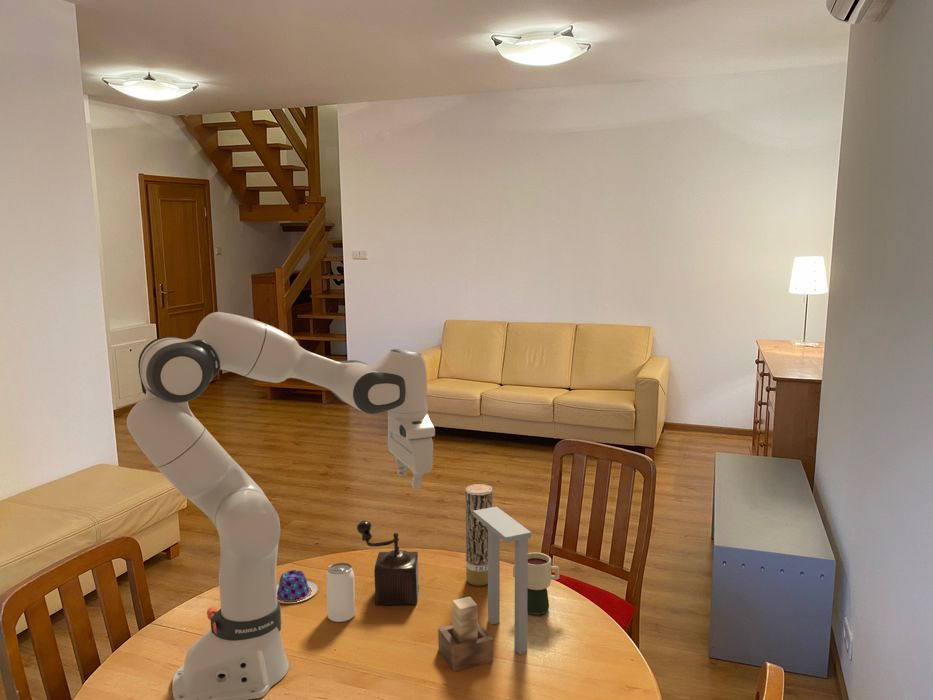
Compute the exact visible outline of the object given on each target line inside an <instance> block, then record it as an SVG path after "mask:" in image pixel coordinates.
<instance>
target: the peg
mask: <svg viewBox="0 0 933 700" xmlns="http://www.w3.org/2000/svg"><path fill="white" fill-rule="evenodd" d="M478 607H479V606H478V603H476V602H475V600H473V598H472V597H471V596H465V597H461V598H458V599H452V625H453V638H454V640H455V641H456V642H457V644H460V643H464V642H468V641H472V640H476V639H478V623H479V622H478V621H479V620H478V618H479V616H478Z"/></svg>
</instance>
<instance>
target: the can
mask: <svg viewBox="0 0 933 700" xmlns="http://www.w3.org/2000/svg"><path fill="white" fill-rule="evenodd" d="M352 568H353V567H352V565H351V564H350V563H348V562H336V563H333V564H331V565H329V566H328V567H327V572H326V575H325V583H326V585H325V586H326V607H327V608H326V613H327V618H328V619H329V621H332V622H334V623H345V622H349V621H350V620H352V619H353V618H354V617H355V615H356V599H355V597H356V593H355V573H354V570H353V569H352Z"/></svg>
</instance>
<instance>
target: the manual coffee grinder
mask: <svg viewBox="0 0 933 700" xmlns="http://www.w3.org/2000/svg"><path fill="white" fill-rule="evenodd" d="M372 528H373V527H372V523H371V521H368V520H362V521H360V522H359V523H358V524H357V525H356V530H357V533H359V534H360V535H361V540H362V541H363V542H364V541H365V544H366V545H367V546H369V547H372V548H373V547H375V548H376V547H383V546H390V545H391V544H393V543H394V545H393V546H394V547H393V550H390V551H379V552H378V554H377V558H376V561H375V564H374V572H373V573H374V576H373V577H374V593H375V594H374V605H375V606H378V607H397V606H398V607H399V606H400V607H402V605H405V606H417V603H418V599H419V593H418V592H419V591H420V586H419V585H420V584H419V554H418V553H419V552H418V551H406V550H402V549H401V550H400V547H399V543H398V542H399V540H400V538H399V533H398V532H394V533H393V535H392V536H393V538H392V539H391V540H387V541H380V542H371V539H372V538H373V534H371V529H372Z"/></svg>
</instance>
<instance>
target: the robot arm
mask: <svg viewBox="0 0 933 700" xmlns="http://www.w3.org/2000/svg"><path fill="white" fill-rule="evenodd" d="M137 367H138V368H137V369H138V374H139V379H140V385H141V391H142V393H143V394H144V396H143V397H142V398H141V399H140V400H139V401H138V402H137V403H136V404H134V406H133V407H132V408H131V409H130V411H129V413H128V414H127V416H126V417H127V418H126V427H127V430H128V432H129V434H130V435H131V437H132V439H133V440H134V442H135V443H136V444H137V446H138V447H139V449H140V450H141V451H142V453H143V454H144V455H145V457H146V459H148V460H149V462H151V464H152V465H153V466H154V467H155V468H156V469H157V470H158V471H159V472H160V473H161V474H162V475H163V476H164V477H165V479H166V480H167V481H168V482H169V483H170V484H171V485H172V486H173V487H174V488H175V490H177V491H178V492H179V493H180V494H181V495H182V496H183V497H184V498H186V499H187V500H189V501H190V502H191V503H193V504H194V505H195V506H196V507H197V508H198V509H199V510H200V511H201V512H203V513H204V515H206V516H207V518H209V519H210V521H211V522H212V523H213V526H215V528H216V530H217V533H218V538H219V547H220V555H219V556H220V559H219V572H218V585H219V586H218V587H219V588H218V589H219V602H220V605H219V606H220V608H219V610H218V609H217V608H216V607H215V606H210V607H209V608H208V609H207V610H206V615H207V616H206V617H207V619H208V620H209V621H210V629H209V630H208V631H206V633H204V634H203V635H202V636H201V637H200V638H199V639H197V640H196V641H195V642H194V643H193V644H191V645H190V647H189V648H188V650H187V652H186V655H185V658H184V662H183V663H184V664H183V665H181V666H180V667H179V668H178V669H177V670H176V672H175V673H174V675H173V677H172V684H171V691H172V697H173V700H253V699H254V700H255V699H260V698H263V697H265V695H266V694H267V693H268V692H269V691H270V689H271V688H272V687H273V686H274V685H276V684H277V683H278V682H280V681H281V680H282V679H283V678H284V677H285V676H286V675H287V673H288V672H289V668H290V662H289V660H288V657H287V654H286V652H285V649H284V648H285V647H284V644H283V640H282V633H281V630H282V610H281V609H282V608H281V603H279V601H278V599H279V598H278V599H277V585H278V583H277V582H278V581H277V579H278V578H277V563H278V552H279V544H280V543H279V541H280V538H281V522H280V517H279V514H278V512H277V510H276V509H275V507H274V506H273V504H272V503H271V502H270V500H269V498H268V497H267V496H266V493H265V492H264V491H263V489H262V487H260V486H259V485H258V484H257V483H256V482H255V480H254V479H252V477H251V476H250V474H249V475H248V473H247V472H246V471H245V469H244V468H243V467H242V466H240V464H238V462H237V461H235V459H234V458H233V457H232V456H231V455H230V454H229V453H228V452H227V451H226V450H225V448H224V447H223V446H222V445H221V444H220V442H218V441H217V440H216V438H215V437H214V436H213V435H212V433H210V432H209V430H208V429H207V428H206V427H205V426H204V425H203V424H202V422H200V420H199V419H198V418H197V417H196V416H195V415H194V413H193V412H192V410H191V408H190V406H189V402H191V401H192V400H195V399H196V398H198V397H199V396H200V395H202V393H203V392H204V391H205V390H206V389H207V388H208V386H209V384H210V383H212V381H213V379H215V377H216V376H217V375H218V374H219V373H220V371H221V370H222V371H223V370H224V371H227V372H230V373H234V374H237V375H240V376H243V377H246V378H249V379H253V380H256V381H261V382H267V383H274V384H278V383H282V382H284V381H286V380H287V379H297V380H300V381H305V382H307V383H310V384H314V385H316V386H320V387H323V388H324V389H327V390H329V392H330V393H332V394H333V395H334V396H335V397H336V399H338V400H340V401H341V402H342V403H345V404H347V405H349V406H351V407H353V408H355V409H356V410H357V411H358V410H359V411H361V412H362V413H365V414H370V415H372V414H373V415H375V414H376V415H377V414H379V413H384V412H387V442H386V443H387V449H388V451H389V452H388V453H390V454H392V455H393V456H394V460H395V465H396V469H397V475H398V476H400V477H406V476H407V475H408V470H407V469H409V470H411V473H412V479H411V480H410V481H411V487H412V488H413V489H414V490H419V489H422V481H423V477H424V474H430V473H431V472H432V470H433V466H434V441H433V438H432V437H435V436H436V428H435V426H434V425H433V423H432V421H431V419H430V416H429V412H428V410H429V409H428V404H427V398H426V397H427V391H428V376H427V366H426V361H425V357H424V356H423V355H422V354H421V353H419V352H418V351H417V352H416V351H414V350H409V349H404V348H403V349H402V348H393V349H390V350H389V352H388V353H387V354H385V356H384V357H382V358H381V359H379V360H377V361H376V362H374V363H372V364H370V365H369V364H367V363H366V362H364V361H361V360H357V359H356V360H355V359H351V360H338V361H337V360H335V359H331V358H328V357H325V356H322V355H319V354H317V353H314V352H311V351H309V350H306V349H305V348H303V347H302V346H300V344H299V343H298V340H296V338H295V337H293V336H291V335H290V334H288V333H286V332H284V331H282V329H279V328H277V327H275V326H273V325H270V324H267V323H265V322H262V321H259V320H256V319H253V318H250V317H247V316H243V315H239V314H233V313H228V312H222V311H215V312H211V313H208V314H207V315H206V316H205V317H203V319H202V320H201V321H200V323H199V324H198V326H197V328H196V331H195V333H193V335H192V336H190V337H189V338H186V339H184V338H179V337H176V336H162V337H158V338H156V339H154V340H151V341H150V342H148V343H147V345H145V346H144V348H142V350H141V352H140V355H139V359H138V366H137Z"/></svg>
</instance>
